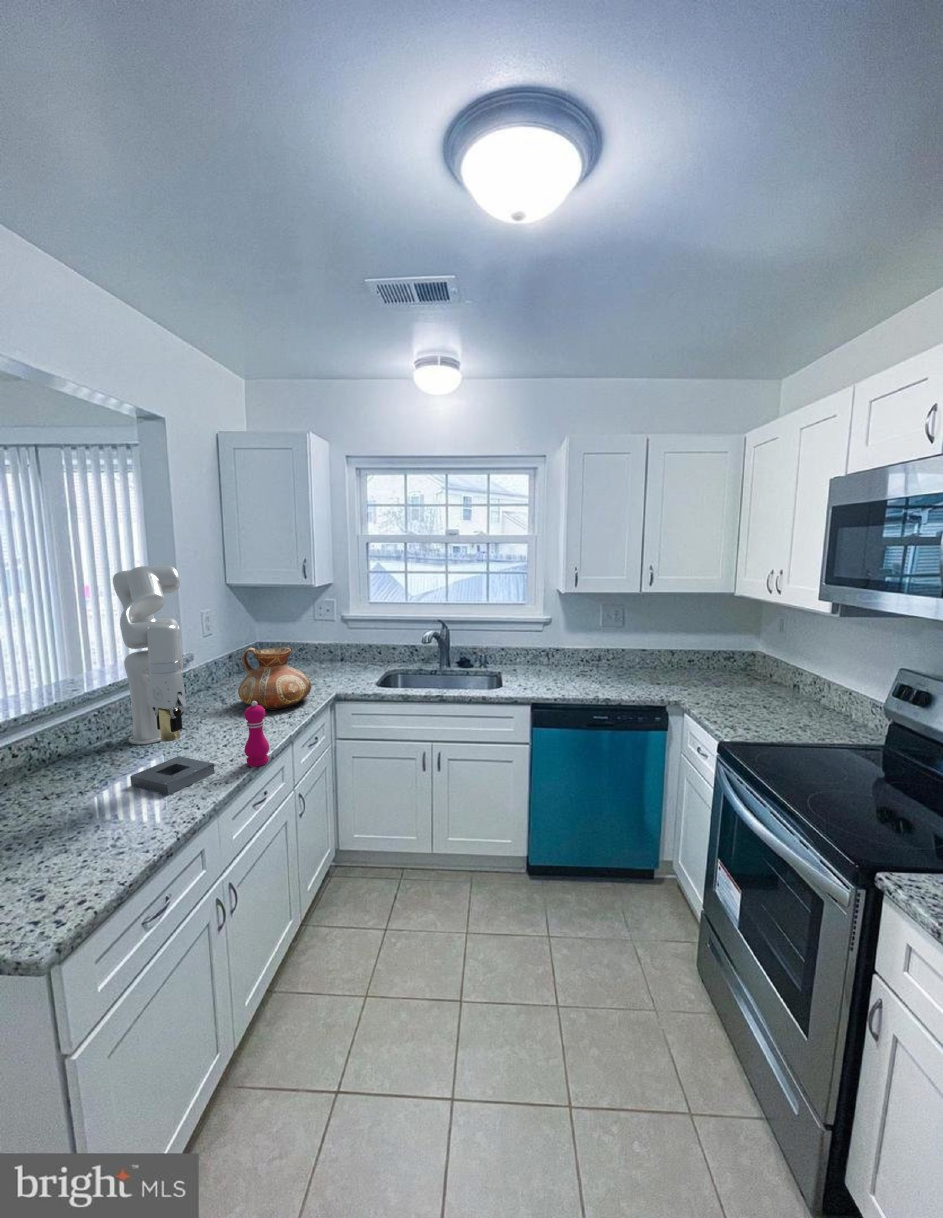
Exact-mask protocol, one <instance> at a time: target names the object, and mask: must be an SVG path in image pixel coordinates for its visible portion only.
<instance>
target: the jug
mask: <svg viewBox="0 0 943 1218" xmlns="http://www.w3.org/2000/svg"><path fill="white" fill-rule="evenodd" d="M248 653H252V654H253V656H254V657H255V658H256V661H257V662H258V667H257V668H255V669H254V668H252V667H251V666H250V663H249V661H248V658H247V656H248ZM291 653H292V649H291V648H289V647H273V648H272V647H271V648H263V649H256V648H255V647H249V648H246V650H245V651H244V652H243V654H242V658H241V661H242V665H243V667H244V669H245V671H246V673H247V674H246V676H245V677H244V679H242V681H241V682H240V685H239V687H238V690H237V691H238V692H237V694H238V697H239V700H241V701H242V702H243V703H244V704H246V705H248V706H249V707H250V706H252V705H251V703H252V702H253V701H256V702H257V705H259V706H262V707H263V708H264V709H268V710H267V711H270V710H269V709H278V710H281V709H280V708H283V709H286V707H287V708H290V707H292V706H295V705H296V704H297V703H299V702H301V701H302V700H304V699H305V698H306V697H307V696H308V695H309V694H310V692H311V690H312V682H311V680H310V678H309V677H308V676H307V675H306V674H305V673H304V672H303V671H302V670H300V669H298V668H294V667H292V666H290V665H289V664H288V661H289V660H288V659H289V657H290V655H291ZM289 706H290V707H289Z"/></svg>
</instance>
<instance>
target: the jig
mask: <svg viewBox="0 0 943 1218" xmlns="http://www.w3.org/2000/svg"><path fill="white" fill-rule="evenodd" d="M213 774H215V763H213V762H209V761H204V760H198V759H194V758H189V757H184V756H180V755H178V756H175V757H173V758H170V759H168V760H166V761H163V762H161V763H158V764H156V765H154V766H152V767H148V768H146V769H143V770H142V771H139V772H137V773H134V774H132V775H130V787H132V788H133V787H134V788H137V789H142V790H145V791H149V792H153V793H157V794H162V795H165V796H169V795H172V794H174V793H175V792H177V791H180V790H182V789H185V788H186V787H189V786H190V785H192V784H194V783H197V782H199V781H200V780H203V779H205V778H207V777H209V776H212V775H213Z"/></svg>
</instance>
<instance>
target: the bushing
mask: <svg viewBox="0 0 943 1218" xmlns="http://www.w3.org/2000/svg"><path fill="white" fill-rule="evenodd" d="M176 710H177V708H176V709H174V711H175V712H176ZM171 718H172V717H171V713H170V710H169V709H162V708H160V709H159V722H160V734H161V741H160V742H166V743H167V742H174V741H176V740H179V739H180V738H181V732H180V731H181V730H178V731H175V732H171V725H170V719H171Z"/></svg>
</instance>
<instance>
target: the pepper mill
mask: <svg viewBox="0 0 943 1218" xmlns="http://www.w3.org/2000/svg"><path fill="white" fill-rule="evenodd" d="M251 705H252V706H250V705H249V707H247V708H246V709H245V710H244V715H243V716H244V719H245V720H246V727H247V728H248V738H247V741H246V743H245V745H244V755H245V756H246V757H247V758H246V765H247V767H250V768H251V767H252V768H253V767H254V768H255V767H261V766H263V765H267V763H268V762H269V755H268V753H269V751H270V744H269V742H268V740H267V738H266V736H265V734H264V728H263V727H264V726H265V720H264V718H265V717H266V710H264V708H263V707H262V706H259V705H257V702H256V701H253V702H252V703H251Z"/></svg>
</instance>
